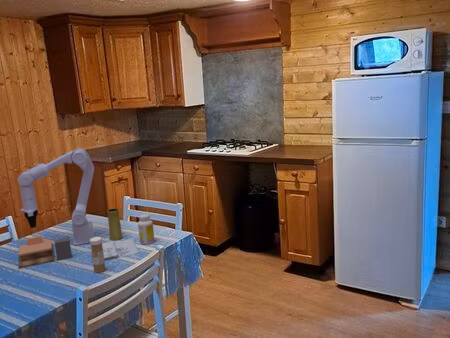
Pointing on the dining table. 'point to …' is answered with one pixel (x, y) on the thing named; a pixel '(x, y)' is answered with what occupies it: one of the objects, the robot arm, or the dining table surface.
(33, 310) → the dining table surface
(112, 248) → the open book
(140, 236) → the supplement bottle
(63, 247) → the plug
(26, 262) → the socket
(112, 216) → the vase
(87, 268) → the dining table surface
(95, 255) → the sprinkles bottle
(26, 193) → the robot arm
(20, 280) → the dining table surface
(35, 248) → the panel
